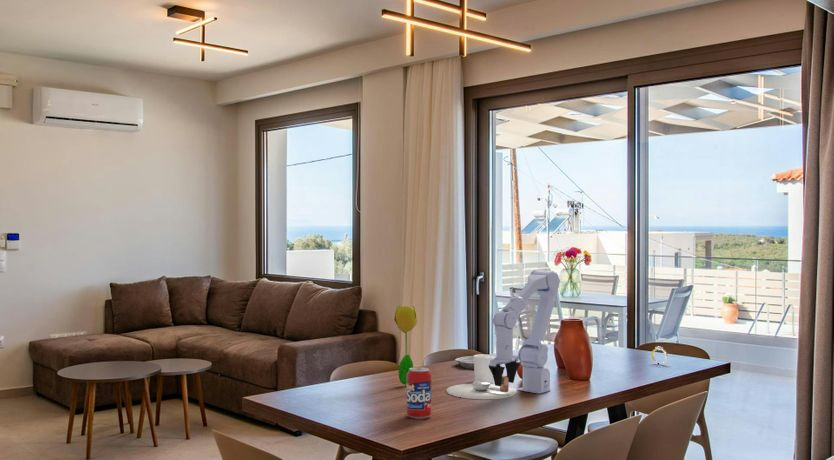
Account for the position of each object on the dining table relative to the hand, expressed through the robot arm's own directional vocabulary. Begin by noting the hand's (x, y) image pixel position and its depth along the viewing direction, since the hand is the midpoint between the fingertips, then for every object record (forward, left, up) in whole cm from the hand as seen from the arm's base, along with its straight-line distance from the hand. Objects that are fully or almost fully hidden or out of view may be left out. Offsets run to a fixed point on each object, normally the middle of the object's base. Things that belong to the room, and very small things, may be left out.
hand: (504, 384), depth 268 cm
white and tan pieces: (+6, 0, -3) cm, 7 cm away
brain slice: (+43, -40, -5) cm, 59 cm away
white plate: (+10, 0, -4) cm, 11 cm away
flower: (+37, +11, -4) cm, 39 cm away
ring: (-13, -99, -4) cm, 100 cm away
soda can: (+2, +43, -4) cm, 43 cm away
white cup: (+20, -15, -4) cm, 25 cm away
